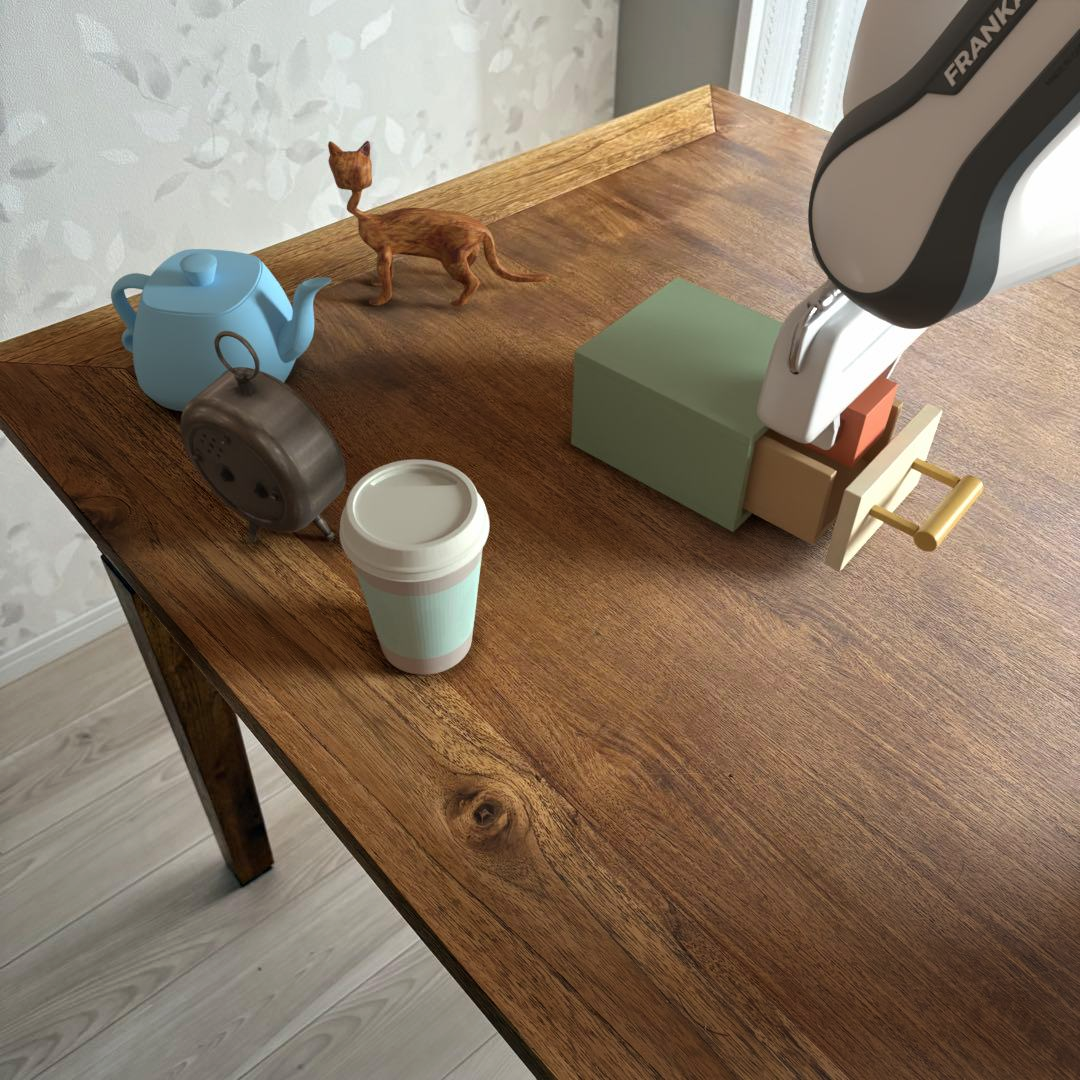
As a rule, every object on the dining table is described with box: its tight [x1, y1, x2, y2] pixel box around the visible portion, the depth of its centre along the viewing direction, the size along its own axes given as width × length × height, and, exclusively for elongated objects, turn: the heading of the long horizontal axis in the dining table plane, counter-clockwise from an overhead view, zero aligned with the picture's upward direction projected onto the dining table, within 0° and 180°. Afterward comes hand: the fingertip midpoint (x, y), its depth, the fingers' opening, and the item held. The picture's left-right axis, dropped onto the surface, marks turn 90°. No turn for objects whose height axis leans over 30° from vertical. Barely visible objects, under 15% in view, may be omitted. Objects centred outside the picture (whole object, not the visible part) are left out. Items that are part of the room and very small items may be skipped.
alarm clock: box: [180, 331, 347, 544], centre depth 72 cm, size 11×5×16 cm, turn 58°
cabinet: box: [570, 276, 783, 533], centre depth 81 cm, size 15×13×9 cm
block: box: [794, 375, 899, 468], centre depth 73 cm, size 4×4×4 cm
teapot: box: [110, 248, 332, 412], centre depth 86 cm, size 13×11×18 cm
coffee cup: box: [339, 458, 491, 676], centre depth 66 cm, size 8×8×12 cm
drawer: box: [743, 397, 984, 572], centre depth 76 cm, size 18×11×7 cm, turn 50°
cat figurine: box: [327, 140, 551, 307], centre depth 94 cm, size 18×7×14 cm, turn 93°
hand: (844, 419), depth 74 cm, fingers closed on block, 4 cm apart
